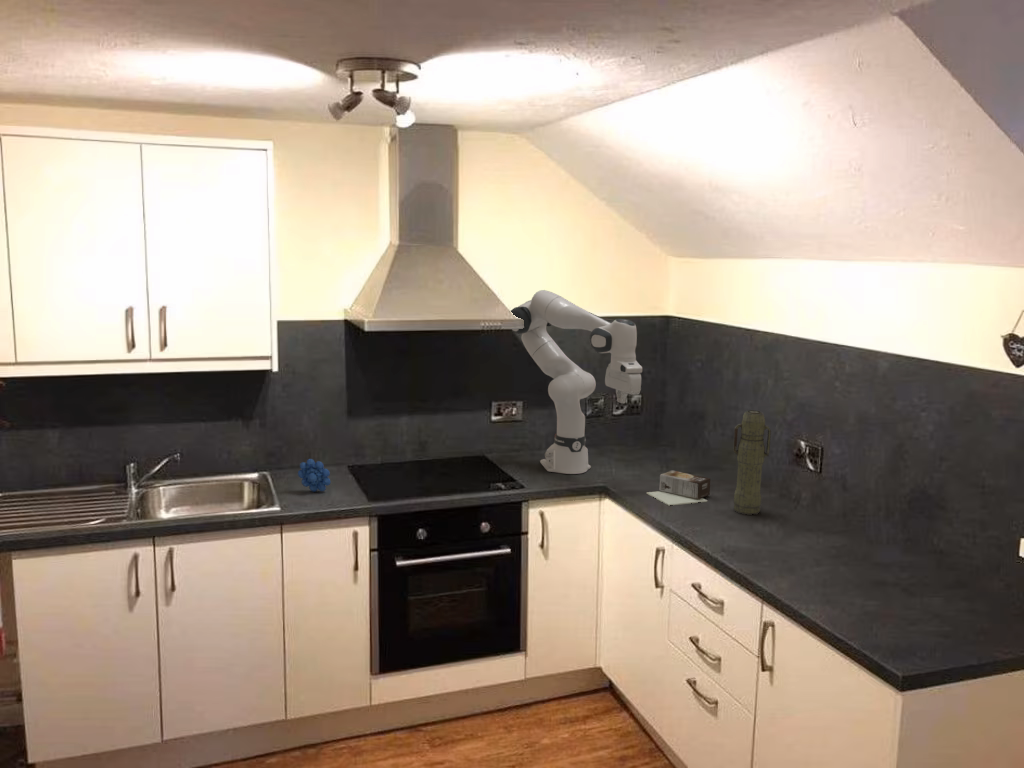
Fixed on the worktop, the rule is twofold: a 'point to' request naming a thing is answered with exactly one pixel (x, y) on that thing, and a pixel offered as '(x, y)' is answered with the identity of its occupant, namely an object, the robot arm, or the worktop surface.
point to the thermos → (750, 461)
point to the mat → (673, 498)
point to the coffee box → (685, 484)
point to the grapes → (314, 475)
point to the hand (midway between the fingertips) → (621, 402)
